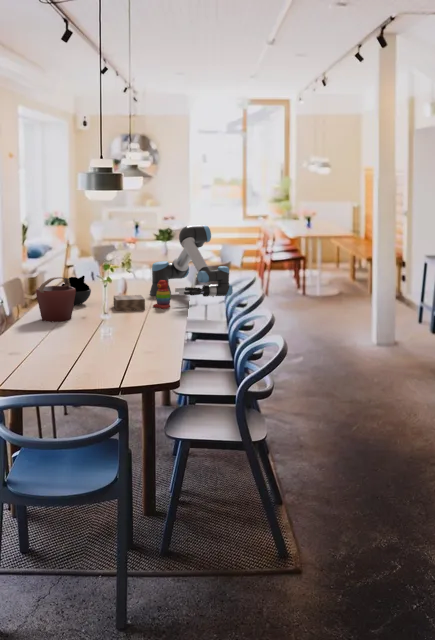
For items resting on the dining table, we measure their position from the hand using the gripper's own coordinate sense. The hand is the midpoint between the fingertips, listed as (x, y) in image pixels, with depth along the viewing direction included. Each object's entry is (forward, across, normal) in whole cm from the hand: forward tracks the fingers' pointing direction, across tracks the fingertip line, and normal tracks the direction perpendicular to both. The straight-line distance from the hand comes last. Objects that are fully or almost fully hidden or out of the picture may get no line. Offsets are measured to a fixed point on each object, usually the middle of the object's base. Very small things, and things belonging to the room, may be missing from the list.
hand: (177, 291), depth 514 cm
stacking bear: (+9, 0, -10) cm, 14 cm away
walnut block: (+31, 0, -10) cm, 33 cm away
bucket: (+78, -31, -10) cm, 84 cm away
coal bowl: (+64, +21, -10) cm, 68 cm away
